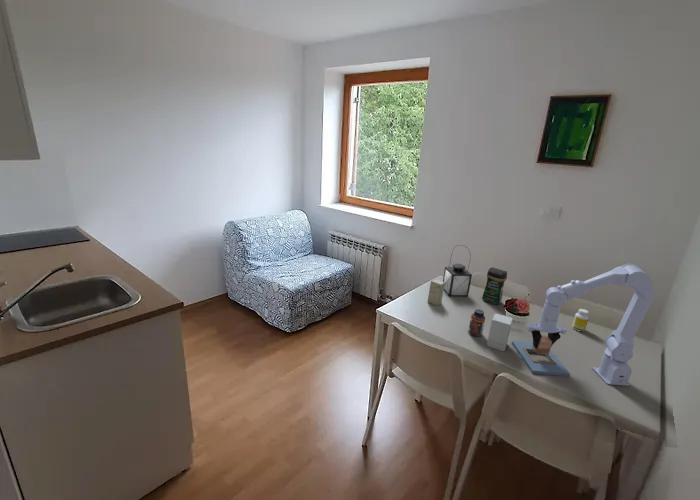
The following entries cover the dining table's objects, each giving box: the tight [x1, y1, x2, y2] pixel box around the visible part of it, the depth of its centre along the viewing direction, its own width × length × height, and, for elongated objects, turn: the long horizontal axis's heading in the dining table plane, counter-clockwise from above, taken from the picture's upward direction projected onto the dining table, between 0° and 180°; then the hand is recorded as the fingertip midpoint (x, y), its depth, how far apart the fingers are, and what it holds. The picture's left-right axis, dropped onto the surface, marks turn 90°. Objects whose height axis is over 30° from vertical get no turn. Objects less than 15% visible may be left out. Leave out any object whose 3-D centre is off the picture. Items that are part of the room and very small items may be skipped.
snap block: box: [532, 334, 553, 356], centre depth 142 cm, size 4×4×6 cm
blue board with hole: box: [511, 340, 571, 377], centre depth 144 cm, size 20×14×2 cm
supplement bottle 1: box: [467, 308, 486, 337], centre depth 158 cm, size 6×6×11 cm
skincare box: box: [427, 278, 445, 307], centre depth 184 cm, size 6×4×12 cm
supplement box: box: [486, 312, 513, 352], centre depth 150 cm, size 7×7×13 cm
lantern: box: [442, 244, 473, 298], centre depth 196 cm, size 11×11×28 cm
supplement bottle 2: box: [571, 308, 590, 332], centre depth 167 cm, size 5×5×10 cm
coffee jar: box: [481, 266, 508, 305], centre depth 189 cm, size 10×8×19 cm
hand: (541, 347), depth 142 cm, fingers closed on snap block, 4 cm apart
